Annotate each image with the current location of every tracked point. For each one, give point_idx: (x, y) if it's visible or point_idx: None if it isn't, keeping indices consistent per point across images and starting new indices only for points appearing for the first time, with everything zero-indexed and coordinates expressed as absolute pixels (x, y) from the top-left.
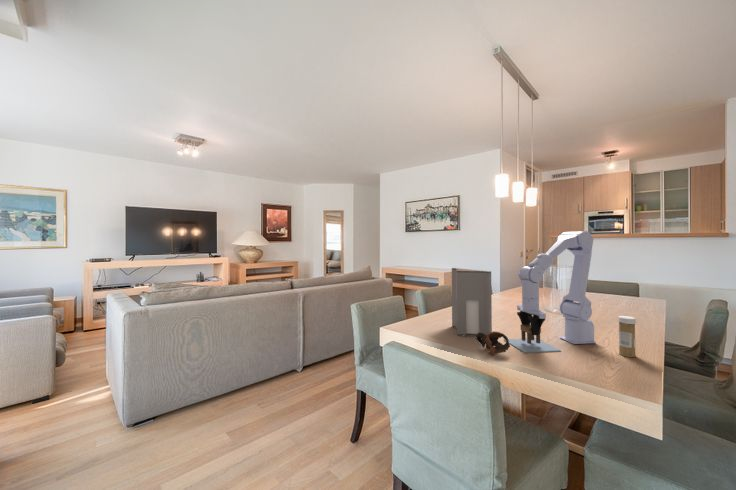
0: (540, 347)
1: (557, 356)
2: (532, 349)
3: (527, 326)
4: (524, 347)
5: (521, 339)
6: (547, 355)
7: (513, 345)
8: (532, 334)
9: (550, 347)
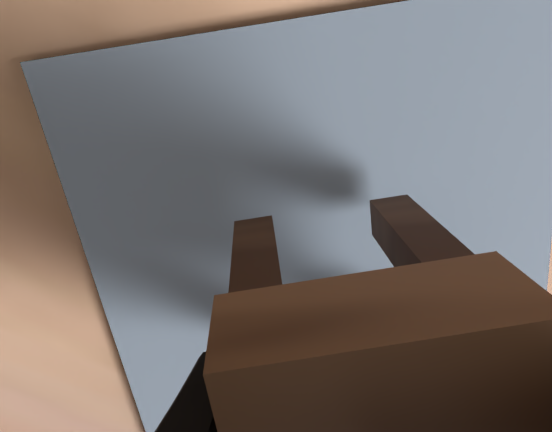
0: None
1: (2, 372)
2: (143, 209)
3: (370, 409)
4: (208, 140)
5: (520, 236)
6: (9, 295)
7: (299, 18)
8: None
9: None
